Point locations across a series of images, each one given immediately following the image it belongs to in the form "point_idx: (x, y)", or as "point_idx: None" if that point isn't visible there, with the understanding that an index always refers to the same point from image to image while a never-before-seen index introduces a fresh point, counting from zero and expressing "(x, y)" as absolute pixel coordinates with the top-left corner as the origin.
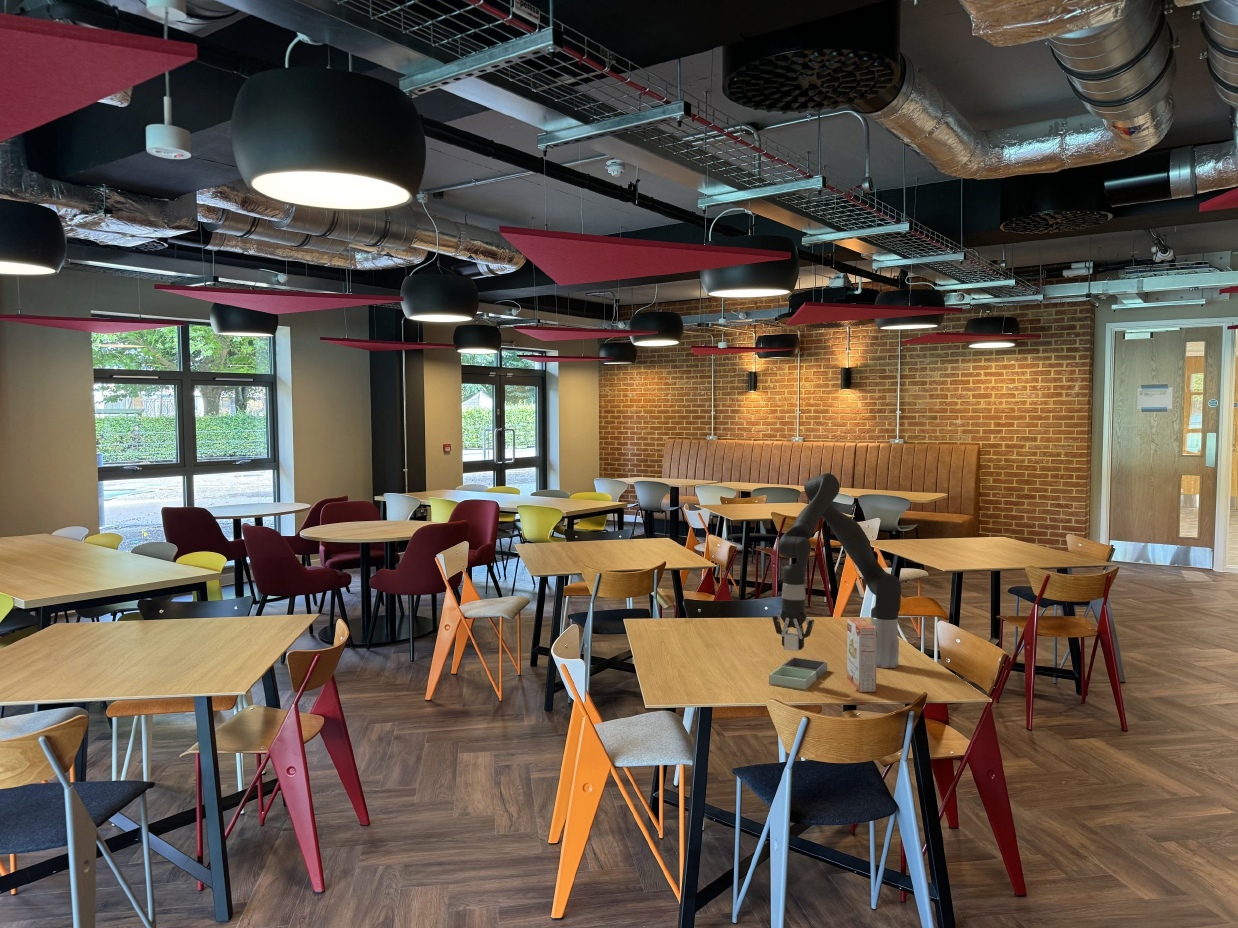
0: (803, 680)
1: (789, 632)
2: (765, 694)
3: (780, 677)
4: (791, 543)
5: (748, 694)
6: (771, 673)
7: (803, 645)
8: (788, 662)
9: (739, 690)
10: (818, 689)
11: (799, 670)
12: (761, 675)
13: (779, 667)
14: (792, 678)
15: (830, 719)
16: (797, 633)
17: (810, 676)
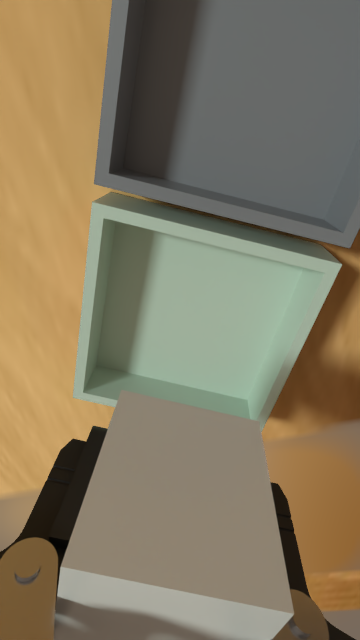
0: None
1: (86, 593)
2: None
3: None
4: None
5: (51, 469)
6: (79, 375)
7: (281, 513)
8: (125, 42)
9: (7, 442)
10: (314, 365)
11: (225, 246)
12: (6, 217)
13: (91, 247)
14: None
15: (312, 581)
16: (218, 617)
17: (289, 373)
